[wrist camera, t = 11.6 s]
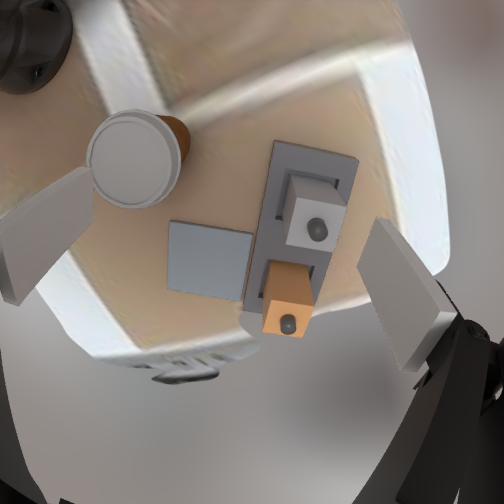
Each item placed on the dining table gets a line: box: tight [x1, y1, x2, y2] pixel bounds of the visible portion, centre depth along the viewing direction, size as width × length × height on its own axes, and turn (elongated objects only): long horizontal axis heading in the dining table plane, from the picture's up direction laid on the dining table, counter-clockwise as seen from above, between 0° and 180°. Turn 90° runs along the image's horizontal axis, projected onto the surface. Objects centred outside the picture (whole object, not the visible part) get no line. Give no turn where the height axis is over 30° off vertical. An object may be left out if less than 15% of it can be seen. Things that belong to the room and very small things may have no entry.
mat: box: [167, 220, 253, 301], centre depth 43 cm, size 11×11×1 cm
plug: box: [262, 259, 315, 337], centre depth 39 cm, size 5×5×11 cm
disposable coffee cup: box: [86, 110, 190, 209], centre depth 30 cm, size 10×10×12 cm
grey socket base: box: [243, 140, 359, 314], centre depth 36 cm, size 10×24×11 cm, turn 171°
